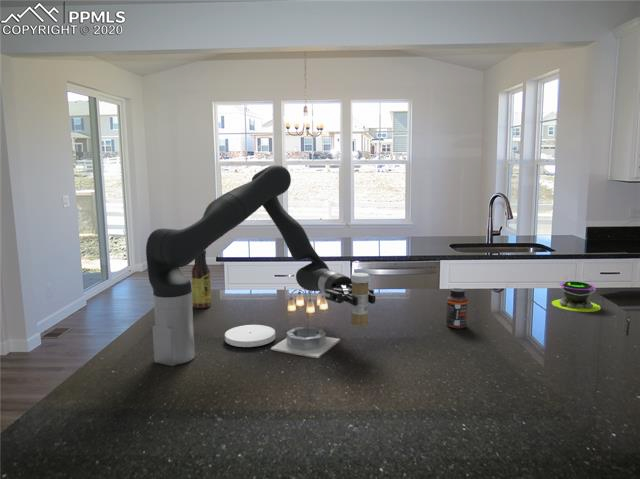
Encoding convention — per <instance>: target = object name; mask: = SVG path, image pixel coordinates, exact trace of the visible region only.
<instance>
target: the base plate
mask: <svg viewBox="0 0 640 479" xmlns="http://www.w3.org/2000/svg"><path fill="white" fill-rule="evenodd" d="M340 341H341V338H337V337H331V336H330V337H329V336H326V344H324V345H323V346H322V347H321V348H319V349H313V350H306V351H303V350H298V349H292V348H290V347H289V345H288V344H287V337H285V338H284V339H283V340H281V341H279V342H278V343H276V344H275V345H273V346H272V347H270V350H271V351H275V352H280V353H285V354H286V353H287V354H292V355H297V356H303V357H307V358H314V359H320V358H321V357H322V356H323V355H325V353H327V352H328V351H329V350H331V348H333V347H334V346H335V345H337V344H338V343H339V342H340Z"/></svg>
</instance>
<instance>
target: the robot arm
mask: <svg viewBox="0 0 640 479" xmlns="http://www.w3.org/2000/svg"><path fill="white" fill-rule="evenodd" d="M291 180H292V179H291V174H290V172H289V170H288V169H287V168H286V167H284V166H283V165H279V164H272V165H269V166H267V167H265V168H263V169H261V170H260V171H258V172H256V173H255V174H254V175H253V177H252V178H251V181H249V182H246V183H243V184H241V185H239V186H238V187H234V188H233V189H231V190H229V191H228V192H225V193H224V194H222V195H220V196H219V197H217V198H216V199H214V200H213V201H211V202H210V203H209V204H208V205H207V206H206V209H205V211H204V213H203V215H202V217H201V218H200V219H199V220H198V221H196V222H194V223H192V224H191V225H189V226H187V227H185V228H181V229H174V228H157V229H155V230H154V231H152V232H151V233H150V234H149V236H148V238H147V241H146V246H145V255H146V256H145V257H146V266H147V267H146V268H147V275H148V276H147V277H148V280H149V284H150V286H151V287H152V293H153V308H154V309H153V310H154V311H153V312H154V325H152V343H153V357H154V362H153V363H157V364H161V365H165V366H171V367H174V366H176V365H181V364H185V363H188V362H191V361H192V360H193V359H194V358H195V356H196V353H195V352H196V351H195V350H196V349H195V332H194V330H195V329H194V315H193V314H194V311H193V298H192V280H190V278H188V277H187V276H185V274H184V273H183V272H182V270H181V269H180V268H183V267H186V266H188V265H189V264H190V263H192V262H194V261H195V259H196V258H197V257H198V256H199V255H200V254H201V253H202V252H203V251H204V250H206V249H207V248H208V247H210V246H211V245H212V244H213V243H215V242H216V241H218V240H219V239H221V238H222V237H223V236H224V235H225V234H227V233H228V232H230V231H231V230H233V229H235V228H236V227H238V226H239V225H240V224H242V223H243V222H245V220H247V219H248V218H249V217H251V216H252V215H253V214H254V213H255V212H256V211H258V210H259V209H260V208H261V207H263V208H264V210H265V212H266V213H267V214H268V216H269V218H270V219H271V220H272V221H273V223H274V225H275V226H276V227H277V229H278V231H279V233H280V234H281V237H282V239H283V241H284V243H285V245H286V246H287V248H288V251H289V253H290V256H291V258H292V259H293V260H294V261H301V260H305V259H306V260H307V259H308V260H309V261H310V263H308V264H306V265H304V266H303V267H301V268H299V269H298V270H297V272H296V274H295V280H296V283H297V284H298V285H299V287H301V288H302V289H303V290H305V291H310V292H320V293H322V294H323V295H324V298H325V300H328V301H331V302H334V303H337V304H342V303H345V304H350V305H351V304H352V305H354V306H357V305H358V298H357V297H356V296H354V295H352V281H351V278H350V277H349V276H346V275H344V274H342V273H340V272H337V271H333V270H331V269H330V268H329V267H328V265H327V264H326V262H325V261H324V260H323V258H321V256H320V255H319V254H318V253H317V252H316V250H315V249H314V247H313V245H312V243H311V241H310V239H309V237H308V235H307V233H306V231H305V228H303V226H302V225H301V224H300V223H299V221H297V220H296V218H294V217H292V216H291V215H290V214H289V213H288V212H287V211H286V210H285V208H283V206H282V204H281V202H280V200H279V198H278V197H279V196H280V195H281V196H282V195H283V194H285V193H286V192H287V191H288V190H289V188H290V186H291V183H292V182H291ZM368 293H369V296H368V304H369V303H370V305H371V304H372V305H373V304H375V303H376V295H375V289H373V287H372V286H371V285H369V284H368Z"/></svg>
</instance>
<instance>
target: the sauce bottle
mask: <svg viewBox="0 0 640 479" xmlns="http://www.w3.org/2000/svg"><path fill="white" fill-rule="evenodd" d="M206 254H207V250H206V249H205V250H204V251H203V252H202V253H201V254H200V255H199V256H198V257H197V258H196V259H194V264H193V266H192V269H191V288H192V307H193V308H195V309H205V308H209V307H211V304H212V289H211V271H210V268H209V267H208V264H207V260H206V259H207V258H206V257H207V256H206Z"/></svg>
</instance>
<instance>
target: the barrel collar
mask: <svg viewBox="0 0 640 479" xmlns="http://www.w3.org/2000/svg"><path fill="white" fill-rule="evenodd" d="M326 334H327V333H326V331H324V330H323V329H322V328H321V327H313V326H309V325H308V326H300V327H293V328H292V329H290V330H288V331H287V332H286V338H287V344H288V345H289V347H290V348H292V349H298V350H303V351H306V350H313V349H319V348H321V347H322V346H323V345H324V344H326V337H327V336H326Z"/></svg>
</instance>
